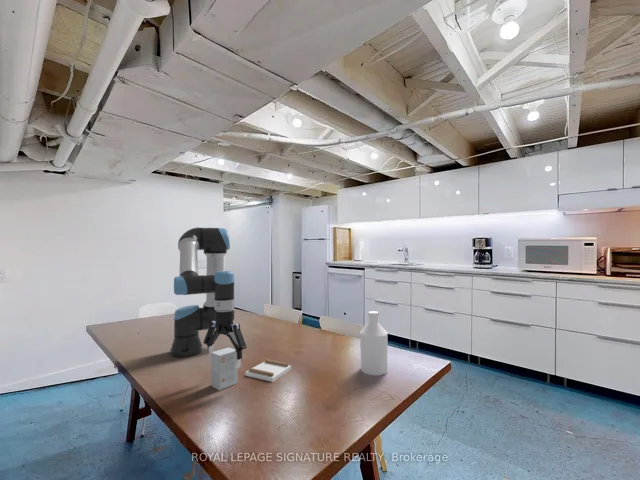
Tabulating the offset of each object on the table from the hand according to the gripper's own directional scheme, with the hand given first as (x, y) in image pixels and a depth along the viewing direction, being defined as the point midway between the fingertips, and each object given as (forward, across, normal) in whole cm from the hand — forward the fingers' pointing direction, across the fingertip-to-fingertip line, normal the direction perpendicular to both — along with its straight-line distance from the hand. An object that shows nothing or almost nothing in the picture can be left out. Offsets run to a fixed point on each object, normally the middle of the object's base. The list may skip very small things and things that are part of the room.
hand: (224, 364), depth 116 cm
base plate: (+8, +9, +17) cm, 21 cm away
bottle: (+8, +49, +39) cm, 63 cm away
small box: (+8, 0, 0) cm, 8 cm away
